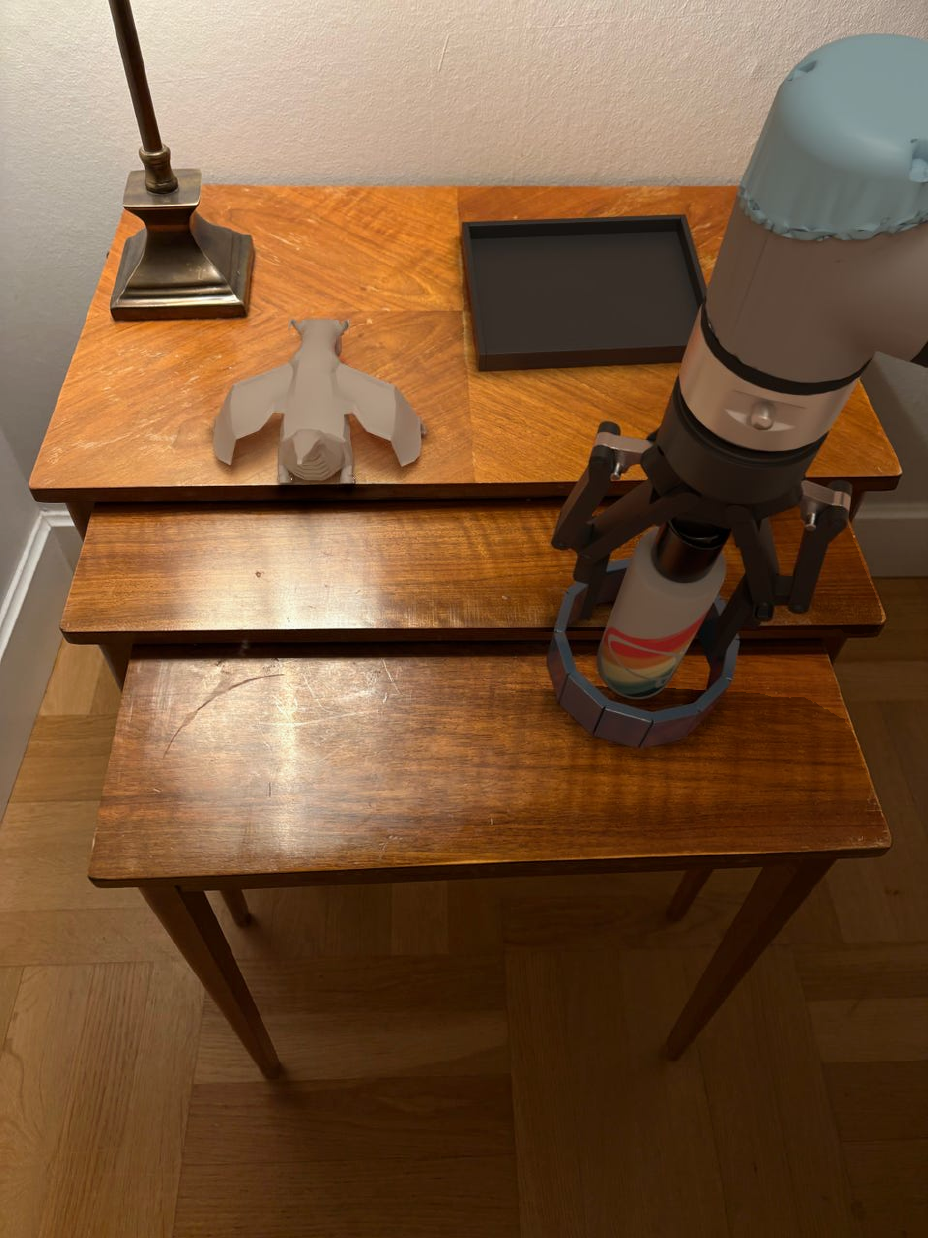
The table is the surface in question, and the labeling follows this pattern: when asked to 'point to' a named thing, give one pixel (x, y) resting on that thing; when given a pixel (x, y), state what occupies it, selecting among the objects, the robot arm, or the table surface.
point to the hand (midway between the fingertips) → (654, 619)
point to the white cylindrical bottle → (661, 605)
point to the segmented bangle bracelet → (620, 718)
